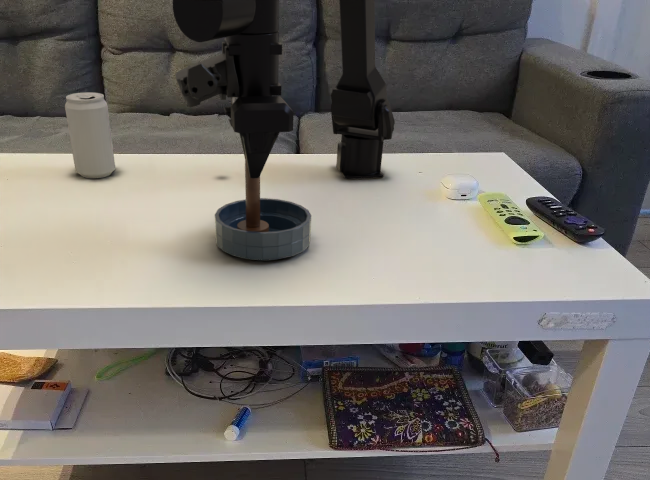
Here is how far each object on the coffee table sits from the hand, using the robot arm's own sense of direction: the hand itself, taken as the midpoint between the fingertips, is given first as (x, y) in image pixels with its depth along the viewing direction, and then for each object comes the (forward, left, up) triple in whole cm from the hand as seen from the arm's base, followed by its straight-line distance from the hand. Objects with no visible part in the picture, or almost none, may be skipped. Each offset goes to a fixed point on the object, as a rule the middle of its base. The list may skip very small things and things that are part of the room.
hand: (253, 175), depth 80 cm
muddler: (0, 0, -8) cm, 8 cm away
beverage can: (+22, -32, -9) cm, 40 cm away
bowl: (-1, 0, -9) cm, 9 cm away
